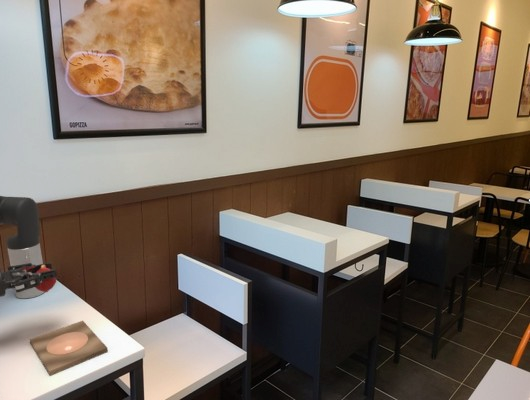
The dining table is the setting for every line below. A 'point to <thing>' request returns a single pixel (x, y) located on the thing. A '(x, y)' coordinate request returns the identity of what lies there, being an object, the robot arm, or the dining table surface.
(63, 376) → the dining table surface
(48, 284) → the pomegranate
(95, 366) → the dining table surface
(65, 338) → the serving board
